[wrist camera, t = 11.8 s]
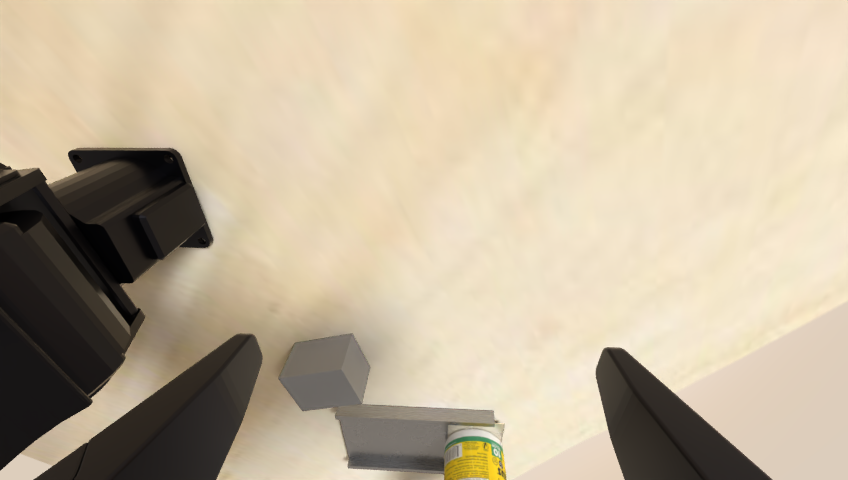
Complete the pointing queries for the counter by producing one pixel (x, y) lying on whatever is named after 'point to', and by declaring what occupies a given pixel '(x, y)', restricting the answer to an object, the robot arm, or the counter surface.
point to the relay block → (326, 373)
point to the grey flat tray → (406, 435)
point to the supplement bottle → (474, 456)
